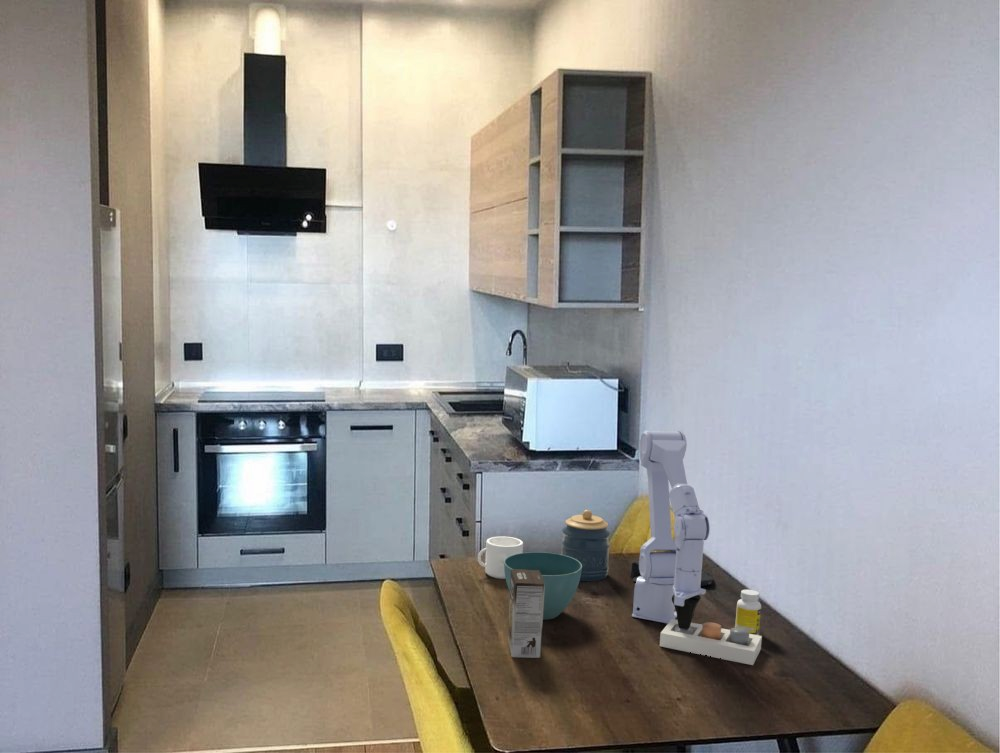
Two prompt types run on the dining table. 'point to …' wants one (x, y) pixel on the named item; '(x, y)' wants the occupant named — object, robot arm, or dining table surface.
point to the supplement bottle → (748, 612)
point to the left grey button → (684, 630)
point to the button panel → (710, 644)
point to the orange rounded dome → (711, 630)
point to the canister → (587, 544)
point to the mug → (499, 554)
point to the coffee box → (526, 613)
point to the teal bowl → (549, 577)
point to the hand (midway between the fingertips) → (684, 627)
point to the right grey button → (739, 636)
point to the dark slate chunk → (635, 573)
